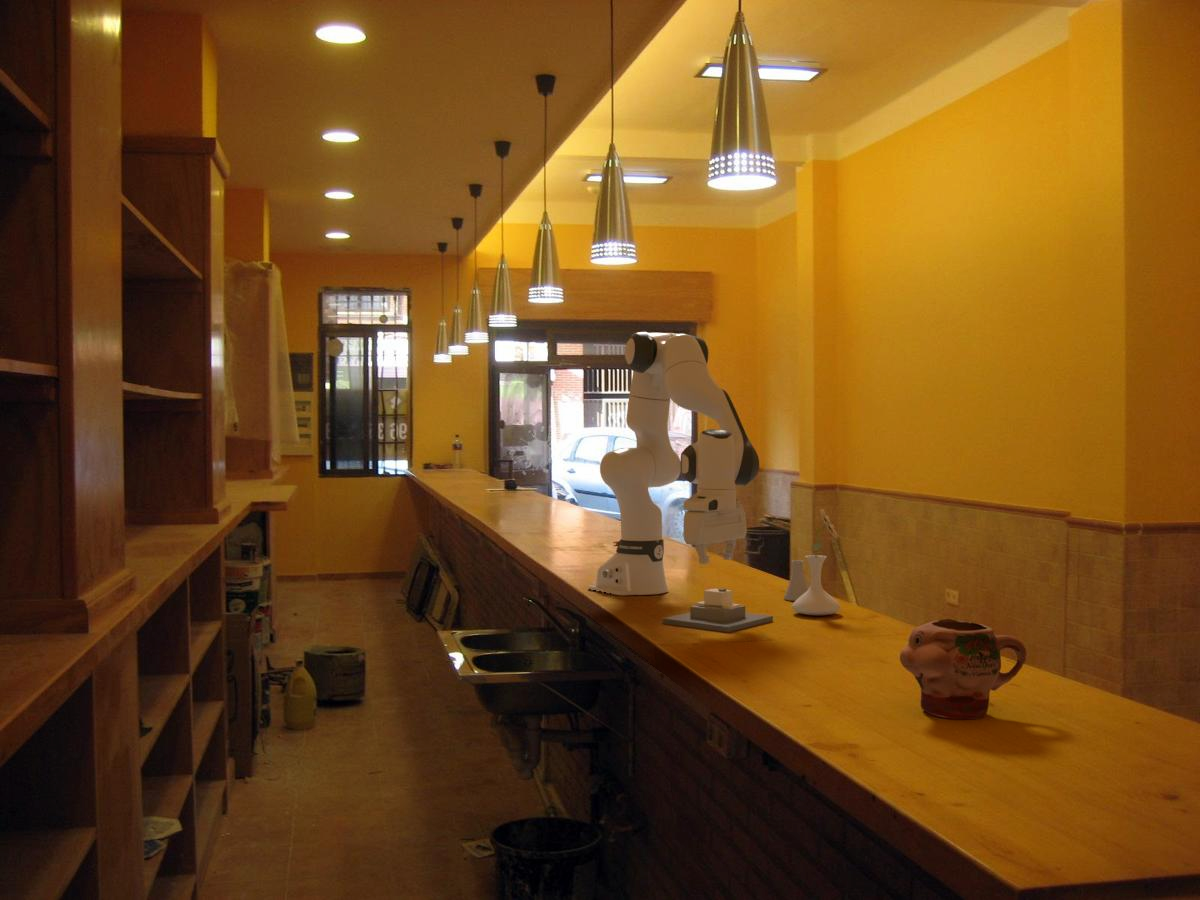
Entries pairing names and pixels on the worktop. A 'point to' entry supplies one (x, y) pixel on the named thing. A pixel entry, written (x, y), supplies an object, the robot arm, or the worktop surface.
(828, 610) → the flower in vase
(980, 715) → the sculpted ceramic mug
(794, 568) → the flask
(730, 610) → the plate
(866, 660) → the worktop surface
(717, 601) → the block
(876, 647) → the worktop surface
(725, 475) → the robot arm
